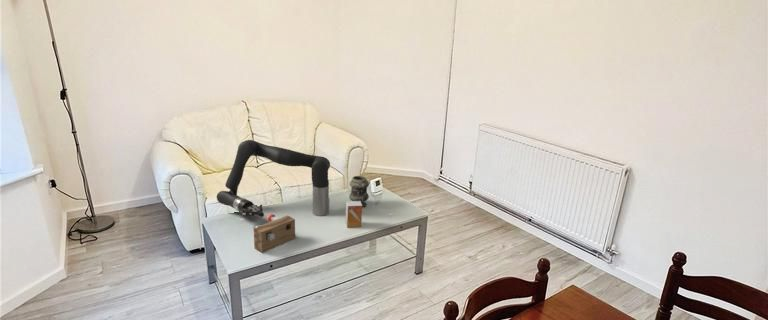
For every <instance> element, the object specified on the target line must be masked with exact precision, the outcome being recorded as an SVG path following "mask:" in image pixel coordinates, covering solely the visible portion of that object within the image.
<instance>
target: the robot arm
mask: <svg viewBox="0 0 768 320" xmlns="http://www.w3.org/2000/svg"><path fill="white" fill-rule="evenodd" d="M253 156H255V157H261V158H265V159H267V160H269V161H271V162H273V163H275V164H277V165H278V164H279V165H282V166H286V167H306V168H310V169H311V183H312V209H311V210H312V214H313V215H314V216H317V217H318V216H320V217H322V216H326V215H328V214H330V201H331V200H330V198H329V196H330V195H329V192H330V191H329V189H330V181H329V169H330V167H331V162H330V160H329V158H327V157H325V156H322V155H321V156H320V155H314V154H307V153H304V152H303V153H302V152H300V151H296V150H291V149H290V148H289V149H288V148H284V147H279V146H274V145H267V144H265V143H261V142H258V141H255V140H252V139H246V140H244V141H241V142H240V143H239V144H238V148H237V151H236V156H235V160H234V163H233V165H232V168H231V170H230V172H229V175H228V177H227V180H226V182H225V187H226V189H228V190H229V191H228V190H221V191H219V192H218V193H216V194H217V195H216V201H217V202H218V203H220V204H221V205H225V206H229V207H231V208H233V209H235V210H236V211H238V212H240V213H242V216H243V217H254V216H256V217H259V218H262V217H264V216H265V212H264V211H263V204H260V205H256V204H254V202H253V201H251V200H249V199H246V198H245V197H241V196H240V195H238V189H239V186H240V183H241V181H242V179H243V176H244V171H245V168H246V164H247V162H248V161H249V159H250V158H251V157H253Z"/></svg>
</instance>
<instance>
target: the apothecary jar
mask: <svg viewBox="0 0 768 320" xmlns="http://www.w3.org/2000/svg"><path fill="white" fill-rule="evenodd" d="M369 186H370V183H369V181H368V180H367V177H366V176H364V175H354V176H352V179H351V180H350V181H349V187H351V191H350V194H349V195H348V198H349V199H350V202H351V201H361V204H362V209H364V208H366V207H367V203H366V201H368V200H369V197H370V196H369V193H368V192H367V190H368V187H369ZM363 207H364V208H363Z"/></svg>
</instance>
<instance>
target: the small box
mask: <svg viewBox="0 0 768 320" xmlns="http://www.w3.org/2000/svg"><path fill="white" fill-rule="evenodd" d="M362 219H363V208H362V204H361V201H351V200H350V201H346V203H345V225H346V228H361V227H362V221H363V220H362Z"/></svg>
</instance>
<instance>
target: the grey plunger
mask: <svg viewBox="0 0 768 320" xmlns="http://www.w3.org/2000/svg"><path fill="white" fill-rule="evenodd" d="M258 226H261V225H260V224H256V225H255V226H254V228H256V227H258ZM254 228H253V232H254ZM266 238H267V239H268V240H270V241H271V240H273V239H275V234H273V233H271V232H268V233H266Z"/></svg>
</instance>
